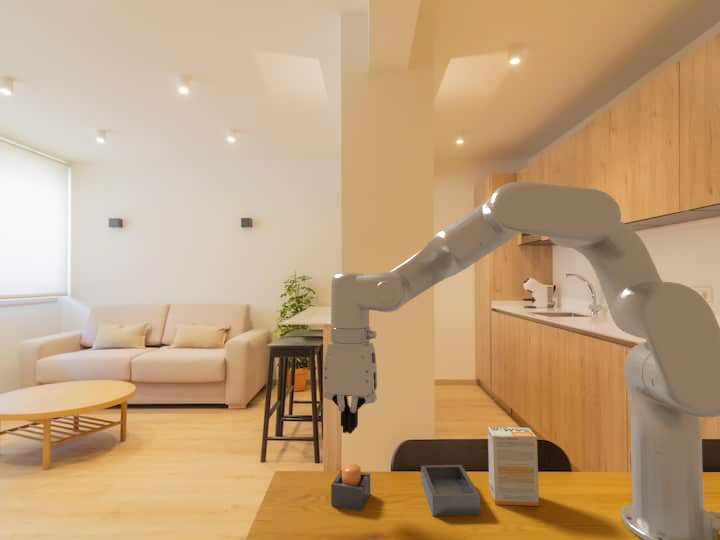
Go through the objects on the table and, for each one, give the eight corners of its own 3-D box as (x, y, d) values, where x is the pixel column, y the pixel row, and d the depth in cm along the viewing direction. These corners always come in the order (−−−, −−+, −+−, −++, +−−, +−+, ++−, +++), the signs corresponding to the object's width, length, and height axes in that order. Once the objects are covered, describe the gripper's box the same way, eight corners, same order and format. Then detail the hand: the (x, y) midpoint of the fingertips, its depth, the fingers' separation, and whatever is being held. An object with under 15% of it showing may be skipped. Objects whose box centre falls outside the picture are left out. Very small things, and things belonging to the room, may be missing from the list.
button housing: (370, 493, 77) (370, 473, 77) (361, 511, 71) (361, 489, 71) (341, 489, 79) (341, 469, 79) (331, 505, 73) (331, 484, 73)
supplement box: (530, 493, 77) (529, 426, 77) (539, 507, 72) (538, 436, 72) (488, 491, 78) (487, 425, 78) (494, 505, 73) (492, 435, 73)
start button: (362, 485, 76) (362, 465, 76) (357, 495, 73) (357, 474, 73) (345, 483, 77) (345, 462, 77) (339, 492, 74) (339, 471, 74)
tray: (461, 481, 81) (461, 464, 81) (480, 515, 70) (479, 495, 70) (421, 482, 81) (421, 465, 81) (432, 516, 69) (432, 496, 70)
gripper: (391, 335, 77) (390, 428, 77) (322, 331, 81) (321, 419, 81) (382, 341, 70) (382, 443, 69) (307, 336, 74) (305, 433, 74)
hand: (349, 430), depth 75 cm, fingers closed
